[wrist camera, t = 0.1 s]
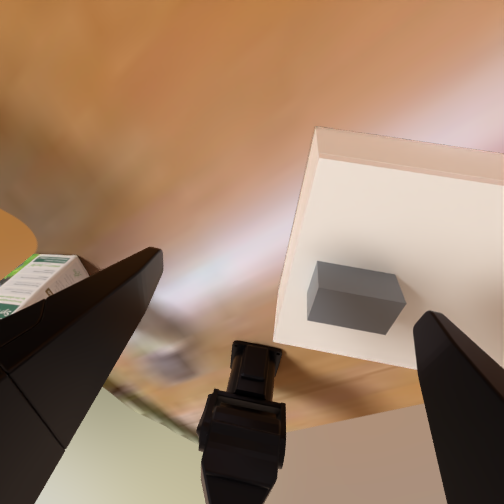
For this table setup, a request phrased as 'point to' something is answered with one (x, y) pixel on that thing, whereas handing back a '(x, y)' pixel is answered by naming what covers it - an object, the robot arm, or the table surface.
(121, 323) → the robot arm
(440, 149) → the carton
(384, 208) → the carton lid
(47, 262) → the syrup box
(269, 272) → the table surface
